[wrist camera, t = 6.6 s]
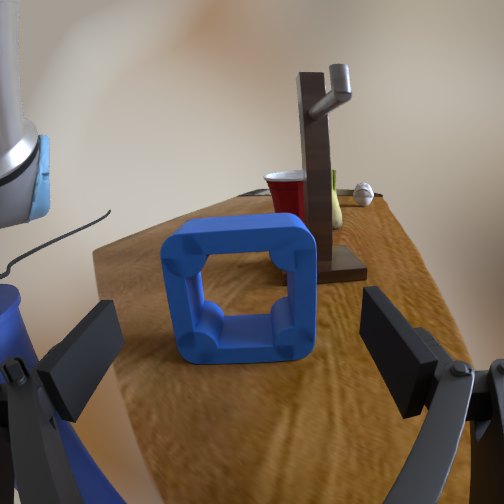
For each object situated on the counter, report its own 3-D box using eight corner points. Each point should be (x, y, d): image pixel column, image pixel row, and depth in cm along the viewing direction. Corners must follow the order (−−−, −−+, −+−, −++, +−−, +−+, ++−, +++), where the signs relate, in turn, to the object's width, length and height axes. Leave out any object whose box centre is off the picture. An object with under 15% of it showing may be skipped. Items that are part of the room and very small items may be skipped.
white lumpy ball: (352, 207, 84) (352, 183, 82) (354, 204, 90) (353, 181, 88) (373, 208, 82) (373, 183, 80) (373, 204, 88) (373, 181, 86)
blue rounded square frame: (314, 358, 22) (316, 224, 19) (181, 364, 22) (156, 235, 19) (305, 325, 27) (304, 211, 24) (192, 331, 27) (175, 220, 24)
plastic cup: (255, 248, 51) (250, 174, 47) (282, 232, 60) (279, 170, 56) (320, 254, 46) (318, 172, 42) (337, 236, 55) (335, 169, 51)
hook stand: (395, 313, 27) (392, 41, 19) (291, 324, 27) (275, 33, 20) (344, 254, 45) (338, 85, 37) (277, 258, 45) (267, 85, 38)
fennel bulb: (326, 232, 58) (325, 169, 54) (311, 228, 62) (308, 168, 59) (348, 228, 60) (347, 168, 57) (332, 224, 65) (330, 168, 61)
